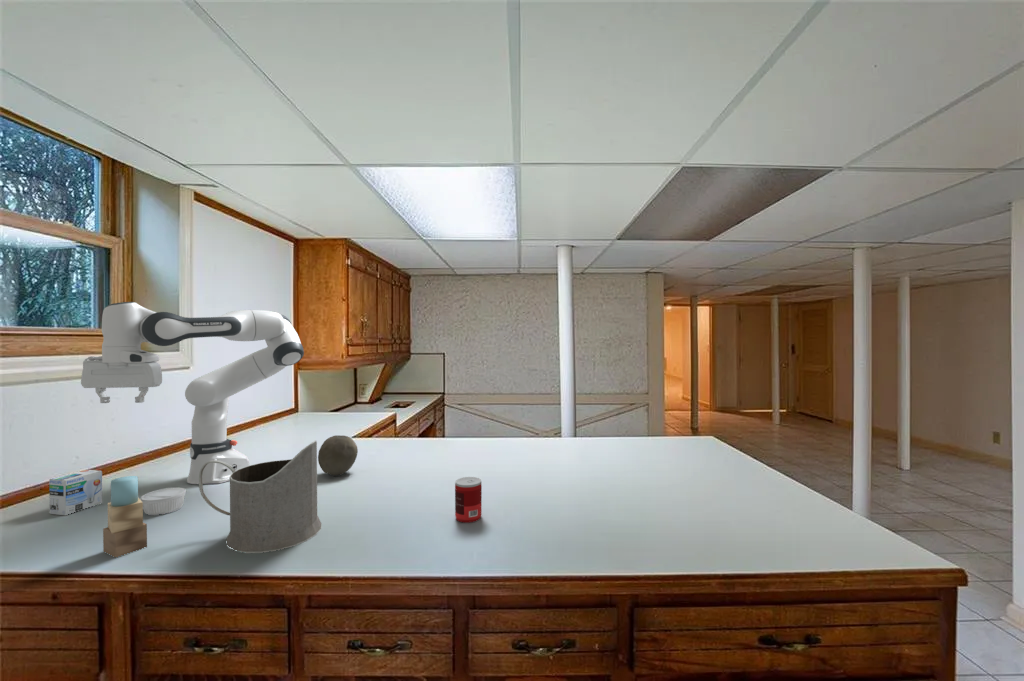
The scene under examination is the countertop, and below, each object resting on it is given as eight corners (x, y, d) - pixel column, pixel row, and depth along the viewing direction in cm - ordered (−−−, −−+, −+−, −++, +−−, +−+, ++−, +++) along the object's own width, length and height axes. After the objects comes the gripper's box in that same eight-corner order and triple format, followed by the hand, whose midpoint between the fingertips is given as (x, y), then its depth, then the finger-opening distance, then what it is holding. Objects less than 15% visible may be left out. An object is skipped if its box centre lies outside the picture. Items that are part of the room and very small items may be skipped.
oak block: (138, 519, 121) (137, 496, 121) (143, 525, 117) (142, 502, 117) (107, 526, 116) (107, 503, 116) (111, 533, 112) (111, 509, 112)
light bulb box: (65, 516, 138) (65, 480, 138) (48, 514, 139) (47, 479, 139) (103, 503, 148) (103, 470, 148) (87, 501, 150) (86, 468, 150)
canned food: (485, 514, 139) (485, 478, 139) (474, 524, 131) (474, 486, 131) (462, 511, 141) (462, 475, 141) (450, 521, 134) (450, 483, 134)
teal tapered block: (130, 498, 120) (129, 475, 120) (142, 500, 118) (142, 477, 118) (106, 504, 115) (106, 481, 115) (119, 507, 113) (118, 483, 113)
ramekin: (136, 519, 135) (136, 502, 135) (145, 507, 145) (145, 490, 145) (182, 513, 141) (182, 495, 140) (188, 501, 150) (188, 485, 150)
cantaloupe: (349, 480, 172) (349, 440, 171) (311, 480, 172) (311, 440, 171) (362, 469, 186) (362, 432, 185) (327, 469, 186) (327, 432, 186)
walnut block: (134, 541, 121) (134, 519, 121) (147, 547, 118) (146, 524, 118) (103, 552, 115) (103, 528, 115) (115, 558, 112) (115, 533, 112)
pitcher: (301, 552, 115) (300, 452, 115) (170, 555, 114) (169, 454, 113) (333, 515, 138) (332, 432, 138) (224, 517, 137) (224, 433, 136)
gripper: (74, 357, 132) (75, 405, 133) (151, 356, 135) (152, 403, 135) (91, 356, 139) (92, 401, 139) (165, 355, 141) (165, 400, 141)
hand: (122, 402), depth 137 cm, fingers open, 8 cm apart
